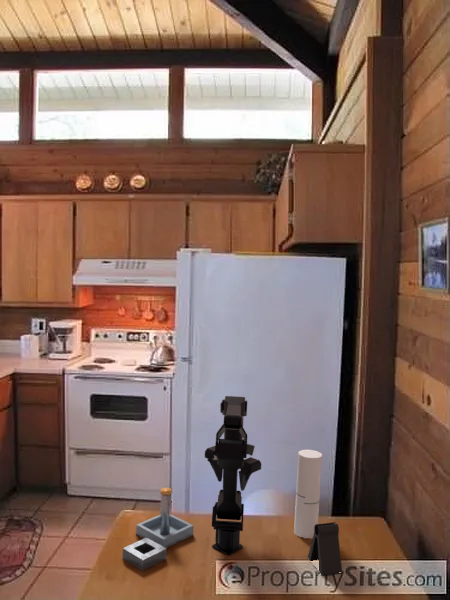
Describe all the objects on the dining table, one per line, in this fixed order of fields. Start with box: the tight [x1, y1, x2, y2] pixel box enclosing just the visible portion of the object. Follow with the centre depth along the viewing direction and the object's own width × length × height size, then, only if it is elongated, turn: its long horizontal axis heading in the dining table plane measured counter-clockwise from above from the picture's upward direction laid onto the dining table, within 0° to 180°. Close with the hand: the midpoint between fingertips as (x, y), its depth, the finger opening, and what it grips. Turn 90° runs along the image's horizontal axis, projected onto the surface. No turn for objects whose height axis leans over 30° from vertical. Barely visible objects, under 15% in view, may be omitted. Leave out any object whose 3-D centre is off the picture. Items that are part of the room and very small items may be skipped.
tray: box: [135, 513, 194, 549], centre depth 168 cm, size 12×12×3 cm
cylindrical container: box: [293, 449, 323, 539], centre depth 172 cm, size 7×7×25 cm
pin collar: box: [122, 538, 167, 571], centre depth 155 cm, size 8×8×3 cm
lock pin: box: [159, 487, 173, 535], centre depth 168 cm, size 3×3×13 cm
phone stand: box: [307, 521, 343, 577], centre depth 155 cm, size 9×6×12 cm, turn 17°
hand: (231, 485), depth 174 cm, fingers open, 9 cm apart
